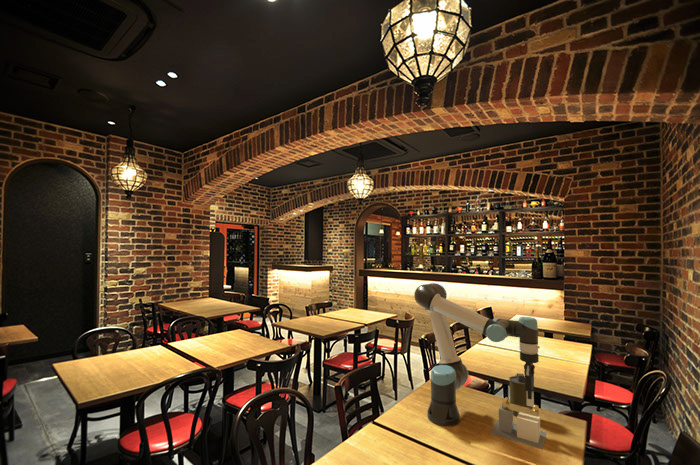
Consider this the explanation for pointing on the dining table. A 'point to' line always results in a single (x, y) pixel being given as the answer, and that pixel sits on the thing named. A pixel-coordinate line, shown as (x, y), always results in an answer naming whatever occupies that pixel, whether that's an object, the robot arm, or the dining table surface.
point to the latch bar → (520, 408)
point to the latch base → (513, 429)
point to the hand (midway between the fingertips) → (530, 405)
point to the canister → (518, 392)
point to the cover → (528, 427)
